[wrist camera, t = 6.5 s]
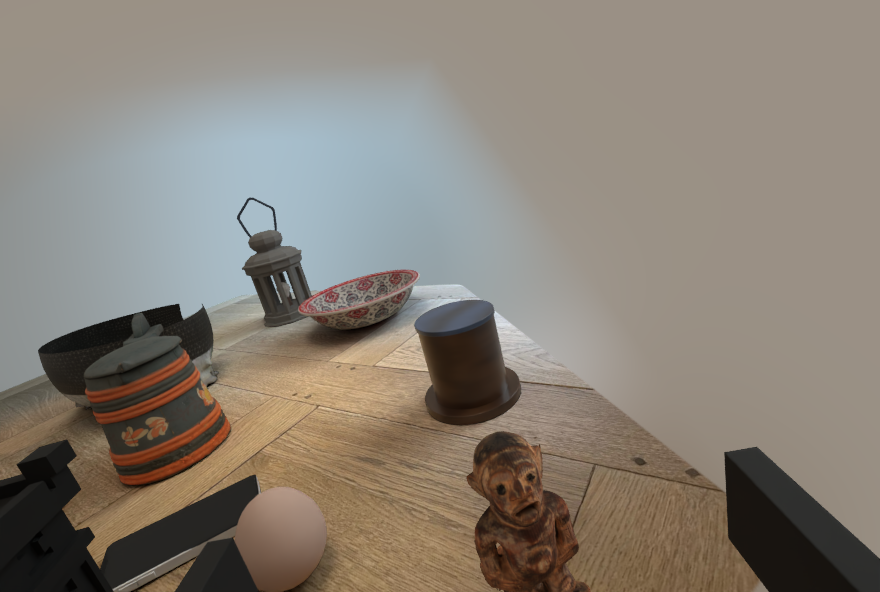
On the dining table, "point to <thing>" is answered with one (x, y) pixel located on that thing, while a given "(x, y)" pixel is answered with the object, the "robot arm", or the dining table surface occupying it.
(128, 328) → the basket
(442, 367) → the pedestal
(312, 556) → the egg
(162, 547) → the smartphone
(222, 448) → the dining table surface
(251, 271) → the lantern
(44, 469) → the chess piece
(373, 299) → the ceramic bowl
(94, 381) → the tankard
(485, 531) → the figurine
